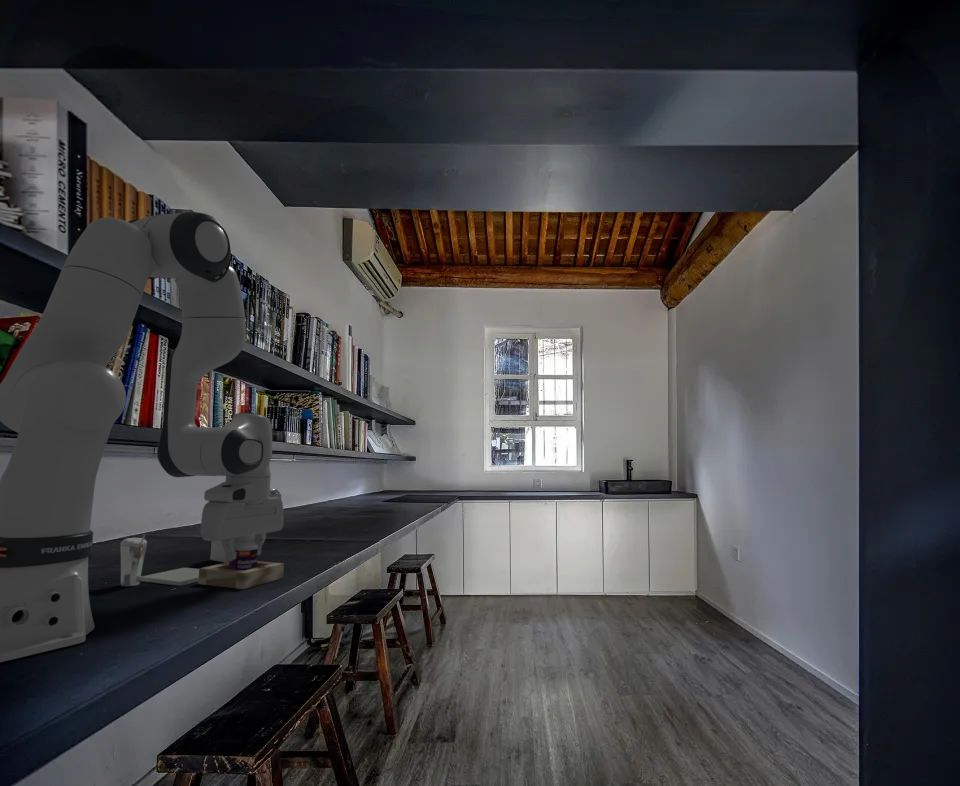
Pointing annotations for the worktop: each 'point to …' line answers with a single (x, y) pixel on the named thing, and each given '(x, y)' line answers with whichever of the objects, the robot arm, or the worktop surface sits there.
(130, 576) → the milkshake
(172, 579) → the sage mat
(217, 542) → the medicine bottle
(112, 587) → the worktop surface
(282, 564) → the socket block
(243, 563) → the pill bottle
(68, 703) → the worktop surface
